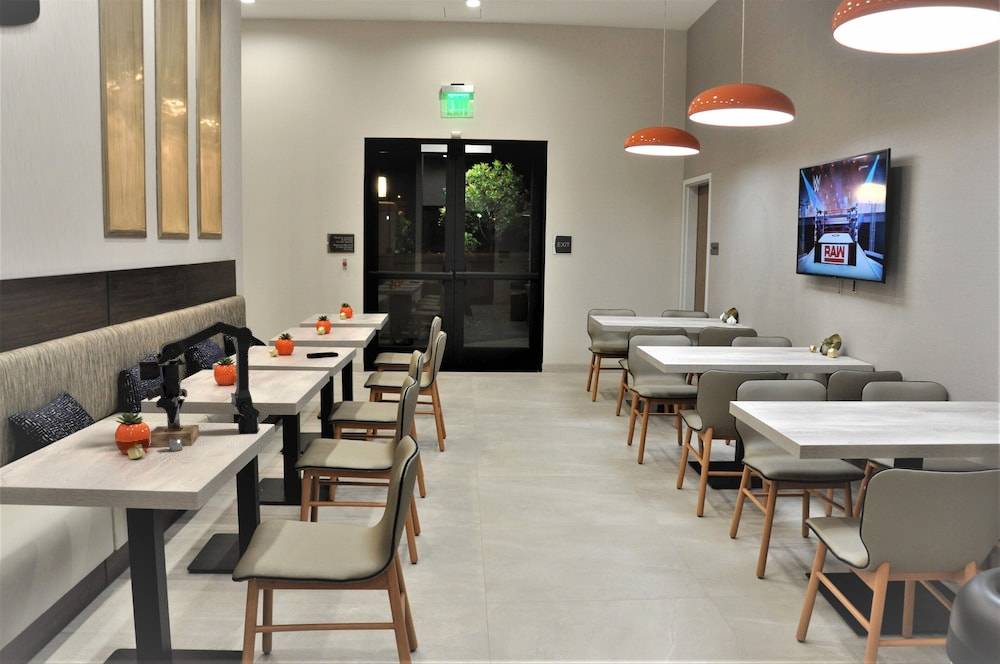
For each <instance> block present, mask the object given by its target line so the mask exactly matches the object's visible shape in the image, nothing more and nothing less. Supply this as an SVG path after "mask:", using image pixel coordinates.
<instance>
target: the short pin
mask: <svg viewBox="0 0 1000 664" xmlns="http://www.w3.org/2000/svg"><path fill="white" fill-rule="evenodd" d="M168 448H169V452H171V453H178V452H182V451H183V446H182V438H179V437H177V438H171V439H169V447H168Z"/></svg>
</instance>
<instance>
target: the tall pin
mask: <svg viewBox="0 0 1000 664" xmlns="http://www.w3.org/2000/svg"><path fill="white" fill-rule="evenodd" d="M180 419H181V418H180V413H179V408H178V412H177V415H176V418H175V421H174V423H172V424H171V423H170V421H169V418H168V415H167V414H166V421H167V426H168V429H176V428H180V425H181V422H180V421H181V420H180Z"/></svg>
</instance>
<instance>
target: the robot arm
mask: <svg viewBox="0 0 1000 664" xmlns="http://www.w3.org/2000/svg"><path fill="white" fill-rule="evenodd" d="M218 334H224V335H227V336H230V337H232V342H233V345H234V349H235V359H236V360H235V371H236V375H235V376H236V379H235V380H236V383H235V384H236V389H235V392H234V393H233V392H231V393H230V397H231V402H230V405H232V408H233V409H234V410H235V411H236V412H238V414H239V415H240V416H239V417H238V418H239V419H238V421H237V428H238V429H237V430H238V432H239V433H238V434H239V435H257V434H258V433H259V431H260V427H259V426H260V425H259V416H260V411H259V410H258V409H257V408H255V407H254V403H253V399H252V395H251V393H250V388H249V387H250V384H249V373H250V371H249V350H250V347H251V344H252V340H253V339H252V338H253V332H252V330H251V329H250V328H249V327H247V326H244V325H242V324H241V325H236V326H234V325H231V324H228V323H225V322H223V321H220V320H215V321H213V323H211V324H209V325H207V326H204V327H203V328H201V329H198V330H197V331H194V332H192V333H191V334H188V335H186V336H184V337H181V338H175V339H172V340H169V341H165V342H163V343H161V345H159V349H158V350H159V352H158V353H157V355H156V356H155V358H154V359H153V360H147V361H143V360H139V361H138V365H137V372H136V373H137V379H138V382H147V381H156V380H158V378H160V377H161V380H162V381H161V382H160V383H159V386H155V387H149V388H147V389H145V392H144V397H145V398H147V401H148V402H149V401H150V402H151V401H152V400H153V399H156V398H158V397H159V398H158V399H157V400H156V402H155V407H156V408H158V409H159V408H162V409H163V410H165V412H166V416H167V415H168V418H169V421H170V423H171V424H172V423H174V421H175V418H176V415H177V412H178V408H179V414H180V413H181V410H182V407H183V405H184V402H185V398H187V397H188V390H187V389H185V388H181V384H182V379H181V375H180V366H184V365H186V362H185V361H183V360H182V358H180V356H181V355H183V354H185V352H186V351H188V350H190V348H192V347H194V346H196V345H198V344H200V343H202V342H205V341H206V340H209V339H211V338H212V337H215V336H216V335H218ZM182 397H183V398H182Z"/></svg>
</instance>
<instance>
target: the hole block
mask: <svg viewBox="0 0 1000 664" xmlns="http://www.w3.org/2000/svg"><path fill="white" fill-rule="evenodd" d="M199 427H200V426H199V424H184V425H181V424H180V428H176V429H168V425H162V426H160V425H159V426H158V425H157V426H156V427H155V428H153V430H152V431H151V432H150V433H151V443H150V446H149V445H148V448H149V449H150V448H151V449H152V448H169V439H171V438H177V437H179V438H182V447H192V446H193V445H194V443H195V442H196V441H197V440H198V439H199V438H200V433H199V432H200V430H199V429H200V428H199Z"/></svg>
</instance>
